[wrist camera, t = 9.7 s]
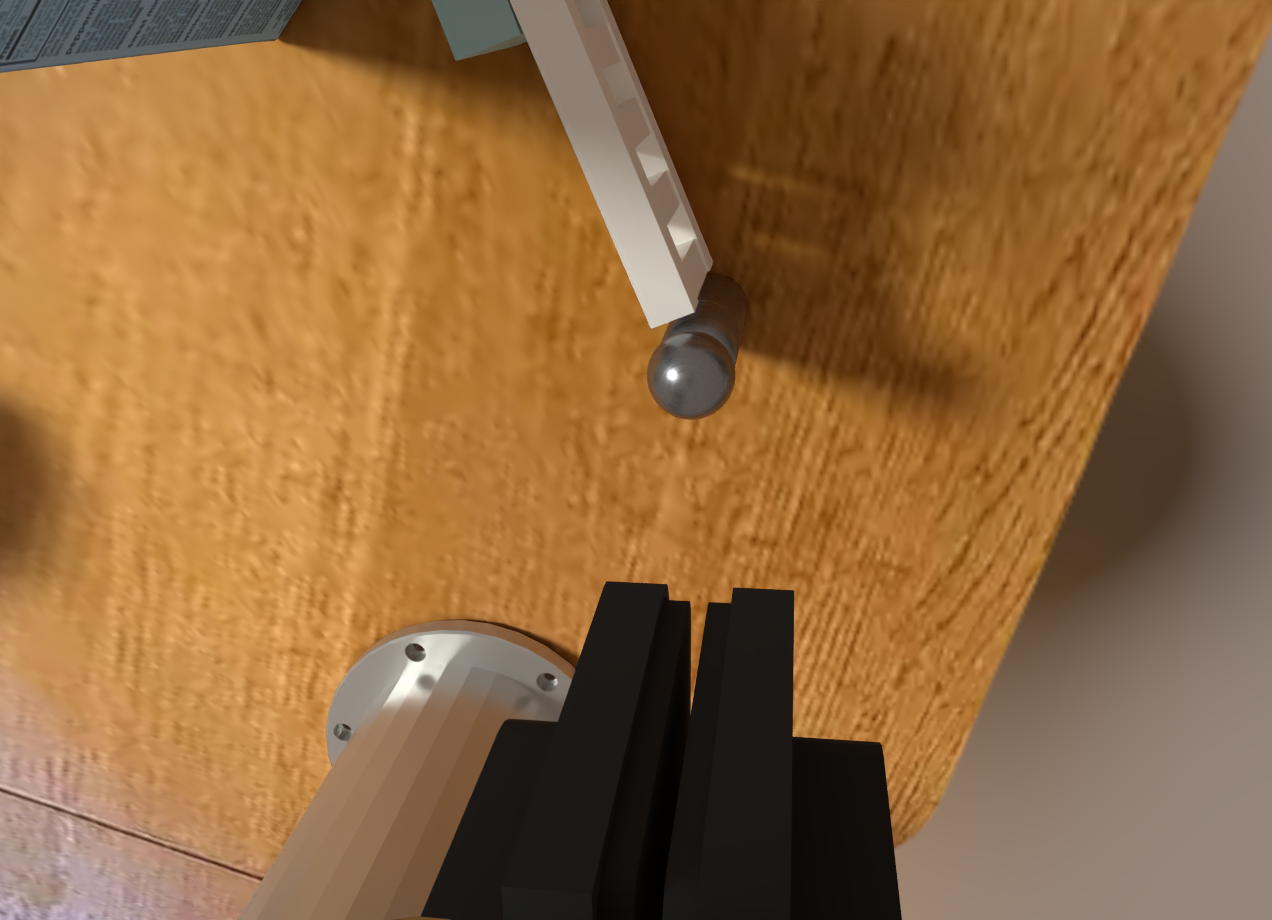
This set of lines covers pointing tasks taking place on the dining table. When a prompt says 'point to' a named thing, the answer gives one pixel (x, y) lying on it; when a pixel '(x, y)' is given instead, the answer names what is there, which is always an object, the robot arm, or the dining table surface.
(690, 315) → the hinge post
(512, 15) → the block
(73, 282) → the dining table surface
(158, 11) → the gum box
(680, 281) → the gate
